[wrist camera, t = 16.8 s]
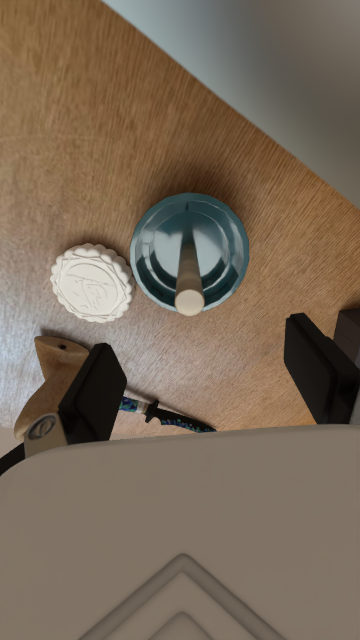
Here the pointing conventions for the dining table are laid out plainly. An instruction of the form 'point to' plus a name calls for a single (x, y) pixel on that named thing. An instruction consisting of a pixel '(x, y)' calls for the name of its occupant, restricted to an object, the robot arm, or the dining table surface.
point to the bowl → (189, 228)
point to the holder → (349, 334)
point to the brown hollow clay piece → (51, 378)
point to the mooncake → (93, 282)
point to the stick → (189, 283)
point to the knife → (163, 415)
